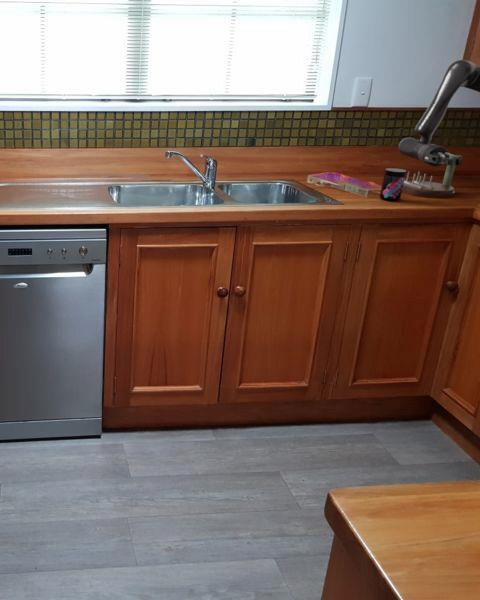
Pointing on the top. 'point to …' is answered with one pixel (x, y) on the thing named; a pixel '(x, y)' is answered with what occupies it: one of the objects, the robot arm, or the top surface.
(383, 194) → the supplement container
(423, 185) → the dish rack
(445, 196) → the turntable base
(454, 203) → the top surface
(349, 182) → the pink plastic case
